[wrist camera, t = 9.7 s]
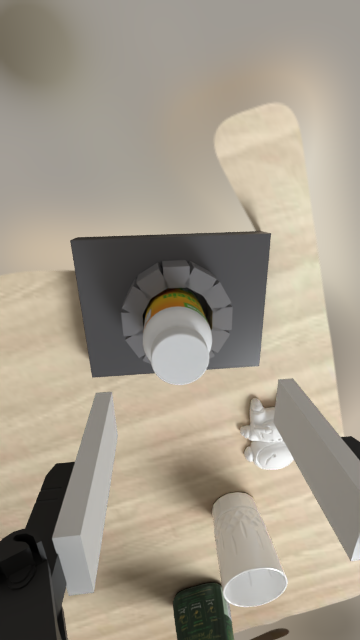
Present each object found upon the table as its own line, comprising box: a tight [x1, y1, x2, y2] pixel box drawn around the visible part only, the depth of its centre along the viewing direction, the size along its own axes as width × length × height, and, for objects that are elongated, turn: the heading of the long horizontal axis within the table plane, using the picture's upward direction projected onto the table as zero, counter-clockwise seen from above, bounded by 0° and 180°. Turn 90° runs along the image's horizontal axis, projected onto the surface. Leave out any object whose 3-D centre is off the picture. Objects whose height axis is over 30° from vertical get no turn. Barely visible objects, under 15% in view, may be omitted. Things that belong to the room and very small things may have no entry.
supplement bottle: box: [143, 288, 212, 385], centre depth 24 cm, size 5×5×10 cm
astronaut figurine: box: [240, 398, 294, 470], centre depth 37 cm, size 9×12×3 cm
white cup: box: [212, 492, 288, 607], centre depth 39 cm, size 8×8×10 cm
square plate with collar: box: [70, 231, 271, 377], centre depth 28 cm, size 18×14×6 cm
